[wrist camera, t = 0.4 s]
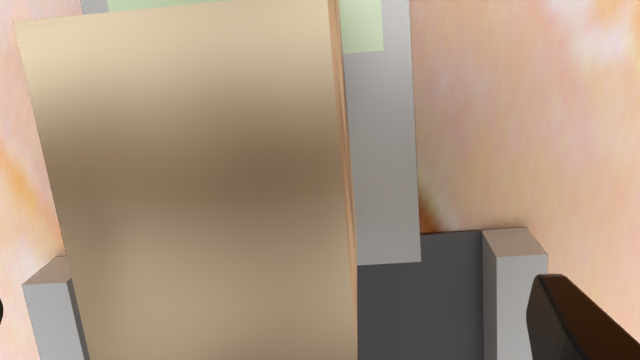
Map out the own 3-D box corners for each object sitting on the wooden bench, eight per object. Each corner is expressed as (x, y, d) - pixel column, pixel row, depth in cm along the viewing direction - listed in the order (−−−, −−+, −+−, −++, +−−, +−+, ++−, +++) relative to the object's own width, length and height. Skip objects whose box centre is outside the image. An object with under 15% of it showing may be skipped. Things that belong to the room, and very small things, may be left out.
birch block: (356, 231, 24) (357, 360, 15) (186, 241, 24) (93, 372, 16) (338, -3, 21) (326, -9, 12) (149, 15, 22) (12, 21, 13)
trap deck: (525, 433, 29) (543, 479, 26) (100, 447, 31) (74, 492, 28) (530, -253, 21) (557, -294, 18) (-46, -180, 23) (-104, -207, 20)
